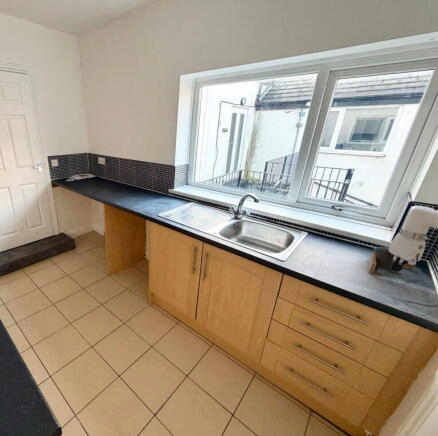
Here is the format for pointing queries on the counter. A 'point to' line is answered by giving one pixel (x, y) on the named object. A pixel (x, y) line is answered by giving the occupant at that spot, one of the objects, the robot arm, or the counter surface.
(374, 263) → the corner guard
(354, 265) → the counter surface
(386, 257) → the coffee cup
